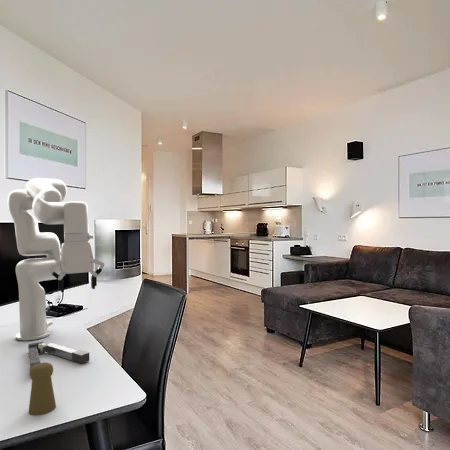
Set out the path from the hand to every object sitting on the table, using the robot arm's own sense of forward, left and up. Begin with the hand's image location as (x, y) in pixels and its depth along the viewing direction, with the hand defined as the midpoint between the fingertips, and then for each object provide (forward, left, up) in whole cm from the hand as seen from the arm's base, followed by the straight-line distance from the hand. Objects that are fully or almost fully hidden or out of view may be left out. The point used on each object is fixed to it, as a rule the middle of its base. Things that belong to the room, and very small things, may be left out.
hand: (78, 290), depth 121 cm
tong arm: (-1, -7, -23) cm, 24 cm away
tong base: (+4, -13, -23) cm, 27 cm away
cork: (+31, +9, -24) cm, 40 cm away
